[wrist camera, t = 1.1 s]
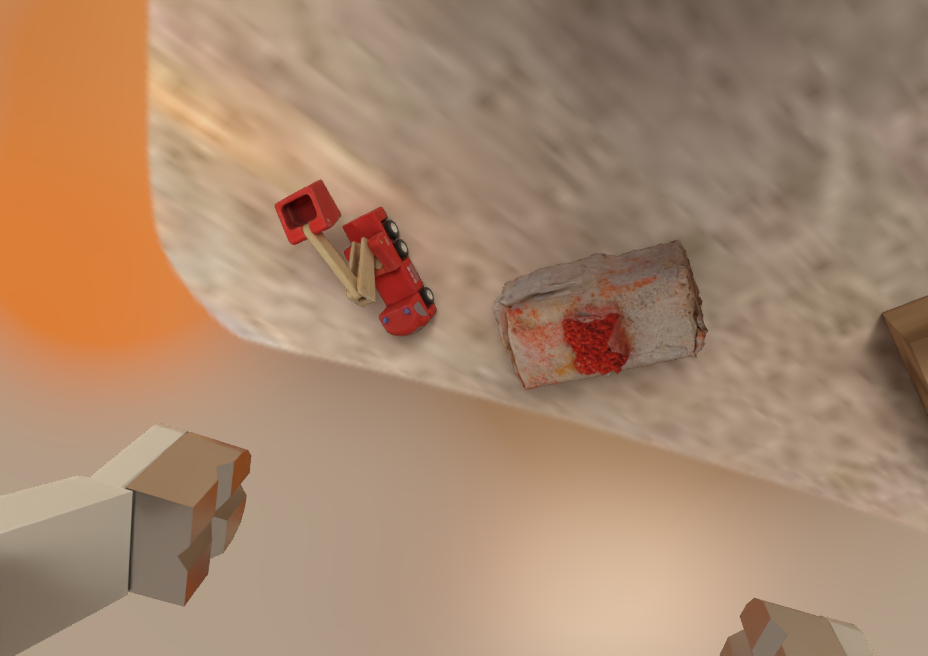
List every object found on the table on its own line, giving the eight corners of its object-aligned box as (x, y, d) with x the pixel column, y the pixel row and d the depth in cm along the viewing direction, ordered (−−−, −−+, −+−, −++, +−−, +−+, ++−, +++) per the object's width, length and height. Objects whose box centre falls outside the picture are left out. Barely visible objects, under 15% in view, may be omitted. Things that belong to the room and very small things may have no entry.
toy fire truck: (410, 325, 53) (367, 378, 45) (330, 178, 50) (267, 205, 41) (443, 312, 52) (405, 364, 44) (363, 160, 48) (305, 184, 40)
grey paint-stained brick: (535, 356, 52) (515, 419, 43) (502, 269, 49) (475, 316, 41) (706, 315, 47) (723, 376, 38) (679, 216, 45) (690, 257, 36)
